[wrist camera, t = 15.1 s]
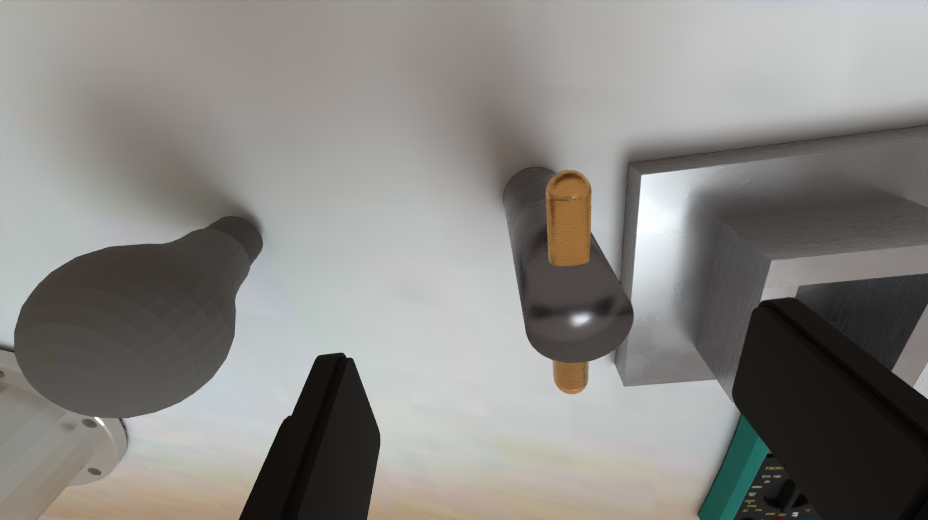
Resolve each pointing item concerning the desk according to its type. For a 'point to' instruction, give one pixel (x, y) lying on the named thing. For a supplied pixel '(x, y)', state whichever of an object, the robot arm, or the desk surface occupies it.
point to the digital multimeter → (754, 485)
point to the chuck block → (776, 251)
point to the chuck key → (563, 274)
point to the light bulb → (136, 321)
